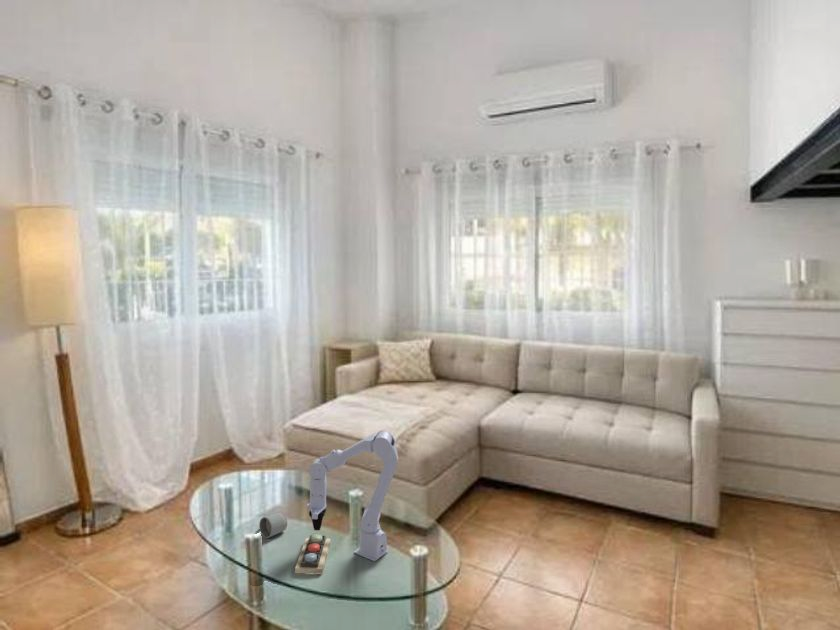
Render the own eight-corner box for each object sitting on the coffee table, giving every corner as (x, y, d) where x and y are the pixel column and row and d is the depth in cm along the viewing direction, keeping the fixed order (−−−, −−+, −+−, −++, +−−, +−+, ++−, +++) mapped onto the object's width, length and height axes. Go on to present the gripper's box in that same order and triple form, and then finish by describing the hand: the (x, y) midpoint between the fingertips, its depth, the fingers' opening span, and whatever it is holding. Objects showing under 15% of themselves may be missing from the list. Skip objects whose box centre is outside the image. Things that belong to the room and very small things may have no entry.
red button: (309, 548, 187) (309, 543, 187) (320, 548, 187) (320, 543, 187) (306, 554, 183) (307, 549, 183) (318, 554, 183) (318, 549, 183)
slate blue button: (305, 558, 180) (305, 552, 180) (317, 558, 180) (317, 553, 180) (303, 564, 176) (303, 559, 176) (315, 565, 176) (315, 559, 176)
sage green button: (312, 539, 193) (312, 534, 193) (323, 539, 193) (323, 534, 193) (310, 544, 189) (310, 539, 189) (321, 545, 189) (321, 539, 189)
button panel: (305, 543, 195) (306, 534, 194) (330, 543, 195) (330, 534, 195) (294, 574, 175) (295, 564, 175) (322, 574, 175) (322, 564, 175)
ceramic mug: (288, 532, 202) (289, 513, 201) (271, 541, 195) (271, 520, 195) (271, 524, 208) (271, 505, 208) (253, 532, 202) (253, 512, 201)
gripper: (310, 484, 197) (309, 519, 198) (303, 501, 182) (302, 539, 183) (329, 485, 197) (328, 520, 198) (323, 501, 183) (322, 539, 184)
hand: (317, 529), depth 191 cm, fingers closed
